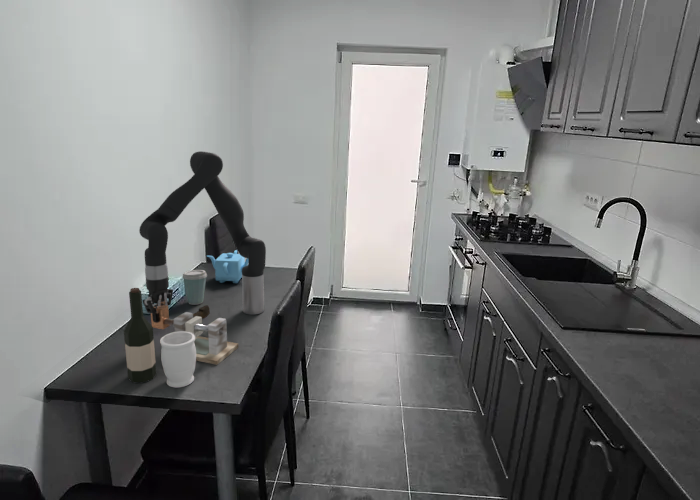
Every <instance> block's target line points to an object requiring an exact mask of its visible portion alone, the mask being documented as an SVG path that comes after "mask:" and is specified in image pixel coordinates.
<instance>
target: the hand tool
mask: <svg viewBox="0 0 700 500" xmlns="http://www.w3.org/2000/svg"><path fill="white" fill-rule="evenodd" d="M210 309H211V308H210V307H209V305H203V306H201V307H199V308H198V311H196V312H195V313H193V318H194V317H195V316H199V317H202V320H203V319H205V318H207V317H208V316H209V314H210Z"/></svg>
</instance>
